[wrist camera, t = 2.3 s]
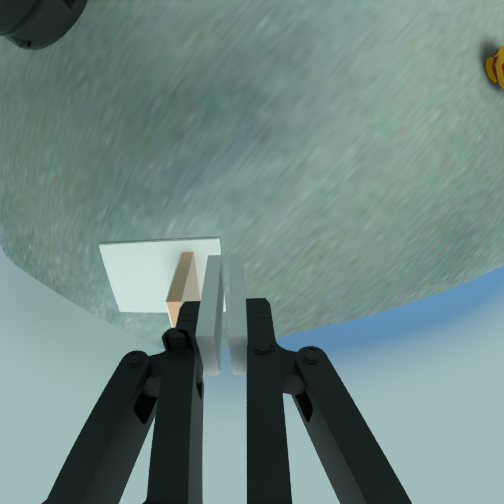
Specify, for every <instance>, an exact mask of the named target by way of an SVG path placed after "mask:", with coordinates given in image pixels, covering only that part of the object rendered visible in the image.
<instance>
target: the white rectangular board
mask: <svg viewBox="0 0 504 504" xmlns="http://www.w3.org/2000/svg"><path fill="white" fill-rule="evenodd" d="M99 247H100V251H101V254H102V258H103V261H104V265H105V268H106V271H107V275H108V278H109V281H110V284H111V287H112V290H113V293H114V296H115V299H116V302H117V305H118V307H119V310H120V312H168V311H167V307H166V303H165V301H166V298H167V295H168V292H169V288H170V285H171V282H172V279H173V276H174V273H175V270H176V267H177V264H178V260H179V257H180V254H182V252H194V258H195V265H196V272H197V279H198V286H199V292H200V299H201V295H202V289H203V283H204V277H205V271H206V265H207V259H208V255H221V246H220V237H210V238H188V239H168V240H149V241H131V242H113V243H100V244H99ZM221 262H222V258H221ZM222 274H223V269H222ZM223 285H224V280H223ZM225 311H226V302H225V291H224V305H223V312H225Z"/></svg>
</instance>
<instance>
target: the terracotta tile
mask: <svg viewBox="0 0 504 504" xmlns="http://www.w3.org/2000/svg"><path fill="white" fill-rule="evenodd" d="M185 301H201V299H200V292H199V286H198V279H197V272H196V265H195V258H194V252H182V254H180V257H179V260H178V264H177V267H176V270H175V273H174V276H173V279H172V282H171V285H170V288H169V292H168V295H167V298H166V301H165V303H166V307H167V311H168V315H169V319H170V322H171V326H172V328H174V327H176V322H177V318H178V314H179V309H180V307H181V306H182V304H183V303H184V302H185Z"/></svg>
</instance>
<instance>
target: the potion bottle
mask: <svg viewBox="0 0 504 504" xmlns="http://www.w3.org/2000/svg"><path fill="white" fill-rule="evenodd" d="M485 68H486V71H487V74H488V77H489V78H490V79H491V80H492V81H493V82H494V83H497V82H499V85H500V86H501V87H502V88H503V90H504V46H502V47H501V48H500V49H497V51H496V53H495V54H494V58H493V57H490V58H487V59H486V65H485Z"/></svg>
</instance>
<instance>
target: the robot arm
mask: <svg viewBox="0 0 504 504" xmlns="http://www.w3.org/2000/svg"><path fill="white" fill-rule="evenodd" d="M86 2H87V0H0V35H1V36H4V37H5V38H7V39H8V40H9V41H11V42H12V43H13V44H15V45H16V46H18V47H20V48H23V49H32V50H35V49H41V48H44V47H46V46H48V45H50V44H52V43H54V42H55V41H57V40H58V39H59V38H60V37H62V36H63V35H64V34H65V33H66V32H67V31H68V30H69V29H70V28H71V27H72V25H73V24H74V23H75V22H76V20H77V19H78V17H79V16H80V14H81V12H82V10H83V9H84V6H85V4H86ZM223 305H224V285H223V274H222V262H221V255H208V259H207V265H206V271H205V277H204V283H203V289H202V295H201V301H185V302H184V303H183V304H182V306H181V307H180V309H179V314H178V318H177V322H176V327H174V328H171V329H169V330H167V331H166V332H165V333H164V334H163V336H162V340H163V343H164V346H165V349H166V351H164V352H162V353H160V354H156V355H152V356H148V355H147V354H146V353H145V352H142V351H132V352H129V353H128V354H126V355H125V356H124V357H123V358H122V360H121V362H120V363H119V365H118V367H117V368H116V370H115V372H114V373H113V375H112V377H111V379H110V380H109V382H108V384H107V385H106V387H105V389H104V391H103V392H102V394H101V396H100V398H99V399H98V401H97V403H96V405H95V407H94V408H93V410H92V412H91V414H90V416H89V417H88V419H87V421H86V423H85V425H84V427H83V428H82V430H81V432H80V434H79V436H78V438H77V440H76V441H75V443H74V445H73V447H72V449H71V451H70V453H69V455H68V457H67V459H66V461H65V463H64V465H63V467H62V469H61V471H60V473H59V475H58V477H57V479H56V481H55V484H54V486H53V488H52V490H51V492H50V494H49V496H48V498H47V500H45V501H44V502H43V503H42V504H119V501H120V499H121V496H122V494H123V492H124V489H125V487H126V484H127V482H128V479H129V477H130V474H131V472H132V469H133V467H134V465H135V462H136V460H137V457H138V455H139V453H140V450H141V448H142V445H143V443H144V441H145V438H146V436H147V434H148V431H149V429H150V426H151V424H152V422H153V419H154V417H155V424H154V431H153V440H152V448H151V458H150V468H149V478H148V479H149V480H148V491H147V498H146V501H145V502H144V503H143V504H203V502H202V437H203V435H202V434H203V432H202V431H203V396H204V395H203V394H204V383H203V378H202V376H203V372H204V375H220V370H221V347H222V325H223ZM228 336H229V345H230V354H231V363H232V371H233V375H247V504H292V496H291V483H290V472H289V460H288V448H287V437H286V425H285V414H284V404H283V393H287V394H291V395H292V398H293V400H294V402H295V404H296V406H297V409H298V411H299V413H300V416H301V418H302V420H303V423H304V425H305V427H306V429H307V432H308V434H309V436H310V438H311V441H312V443H313V445H314V447H315V449H316V452H317V454H318V456H319V458H320V461H321V463H322V465H323V467H324V469H325V472H326V474H327V476H328V478H329V480H330V482H331V485H332V487H333V489H334V491H335V493H336V495H337V498H338V500H339V502H340V504H412V503H411V501H410V499H409V498H408V496H407V494H406V492H405V490H404V488H403V487H402V485H401V483H400V481H399V479H398V478H397V476H396V474H395V473H394V471H393V469H392V467H391V466H390V464H389V462H388V460H387V458H386V457H385V455H384V453H383V451H382V450H381V448H380V446H379V444H378V443H377V441H376V439H375V437H374V436H373V434H372V432H371V431H370V429H369V427H368V425H367V424H366V422H365V420H364V418H363V417H362V415H361V413H360V411H359V410H358V408H357V406H356V405H355V403H354V401H353V399H352V398H351V396H350V394H349V393H348V391H347V389H346V387H345V386H344V384H343V382H342V381H341V379H340V377H339V376H338V374H337V372H336V371H335V369H334V367H333V366H332V364H331V362H330V361H329V359H328V357H327V355H326V353H324V351H323V350H322V349H320V348H318V347H314V346H308V347H303V348H301V349H300V350H299V351H298V352H294V351H289V350H286V349H284V348H282V347H280V346H279V345H278V344H277V342H276V340H275V335H274V328H273V321H272V314H271V307H270V303H269V302H268V301H267V300H266V298H253V299H246V293H245V270H244V254H232V255H231V266H230V296H229V332H228ZM155 415H156V416H155Z"/></svg>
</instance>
